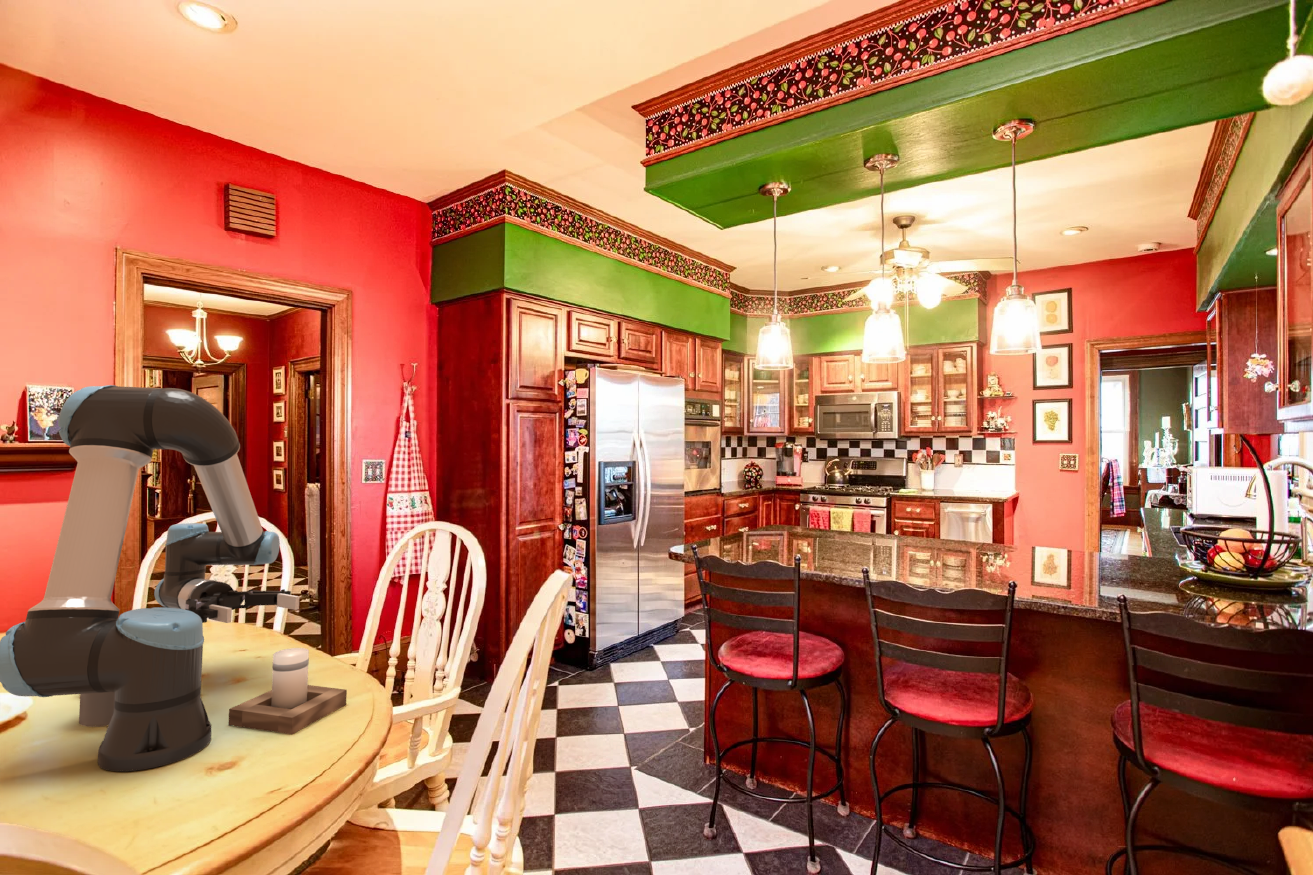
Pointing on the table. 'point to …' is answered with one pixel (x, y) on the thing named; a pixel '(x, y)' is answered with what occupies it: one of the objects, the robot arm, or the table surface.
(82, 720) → the coffee mug
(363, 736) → the table surface
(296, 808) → the table surface
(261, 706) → the cradle
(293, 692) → the white cylinder
